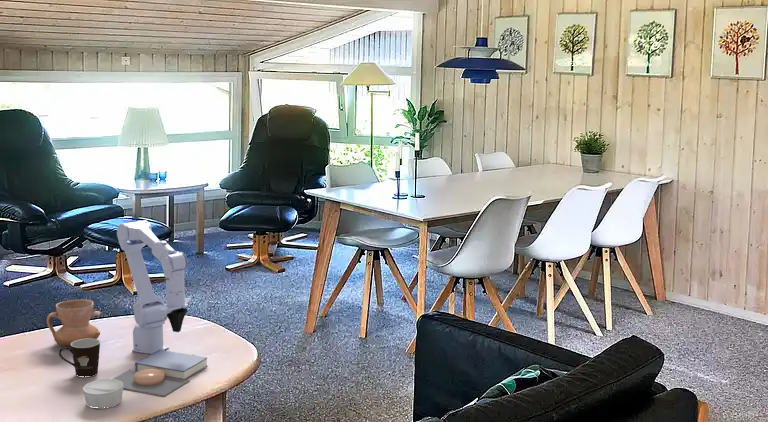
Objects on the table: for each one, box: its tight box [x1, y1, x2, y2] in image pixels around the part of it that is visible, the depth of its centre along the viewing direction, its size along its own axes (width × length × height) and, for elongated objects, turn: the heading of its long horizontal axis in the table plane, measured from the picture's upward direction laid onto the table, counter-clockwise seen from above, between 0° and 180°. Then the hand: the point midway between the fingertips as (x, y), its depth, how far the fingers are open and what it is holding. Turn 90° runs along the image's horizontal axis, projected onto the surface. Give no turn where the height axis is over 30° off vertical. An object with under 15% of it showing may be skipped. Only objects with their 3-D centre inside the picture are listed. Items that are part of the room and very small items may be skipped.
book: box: [134, 350, 208, 380], centre depth 274 cm, size 18×13×3 cm
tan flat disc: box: [134, 369, 165, 386], centre depth 263 cm, size 9×9×2 cm
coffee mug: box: [58, 338, 101, 377], centre depth 269 cm, size 12×9×10 cm
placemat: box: [112, 369, 190, 397], centre depth 262 cm, size 22×13×1 cm, turn 69°
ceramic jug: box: [46, 299, 102, 348], centre depth 295 cm, size 18×14×14 cm
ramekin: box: [82, 378, 124, 408], centre depth 247 cm, size 11×11×5 cm
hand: (176, 331), depth 278 cm, fingers closed
